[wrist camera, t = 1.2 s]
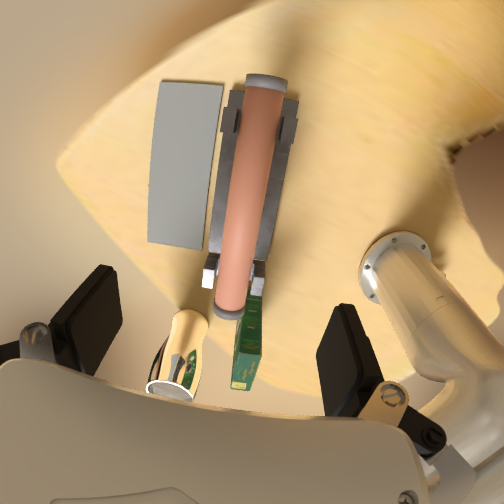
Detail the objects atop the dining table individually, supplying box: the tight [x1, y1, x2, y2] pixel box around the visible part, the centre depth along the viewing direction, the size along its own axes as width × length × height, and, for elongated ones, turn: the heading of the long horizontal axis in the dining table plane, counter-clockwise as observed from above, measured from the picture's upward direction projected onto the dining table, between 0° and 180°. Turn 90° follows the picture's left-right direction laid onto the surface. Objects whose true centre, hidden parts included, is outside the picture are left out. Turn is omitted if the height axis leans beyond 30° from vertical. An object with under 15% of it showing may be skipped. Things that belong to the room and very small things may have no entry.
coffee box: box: [231, 288, 262, 391], centre depth 38 cm, size 8×3×13 cm, turn 169°
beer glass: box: [146, 309, 208, 403], centre depth 39 cm, size 7×7×15 cm
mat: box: [148, 82, 224, 251], centre depth 34 cm, size 8×22×1 cm, turn 171°
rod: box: [213, 74, 288, 320], centre depth 24 cm, size 22×3×3 cm, turn 171°
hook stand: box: [202, 90, 299, 296], centre depth 29 cm, size 8×21×13 cm, turn 171°
